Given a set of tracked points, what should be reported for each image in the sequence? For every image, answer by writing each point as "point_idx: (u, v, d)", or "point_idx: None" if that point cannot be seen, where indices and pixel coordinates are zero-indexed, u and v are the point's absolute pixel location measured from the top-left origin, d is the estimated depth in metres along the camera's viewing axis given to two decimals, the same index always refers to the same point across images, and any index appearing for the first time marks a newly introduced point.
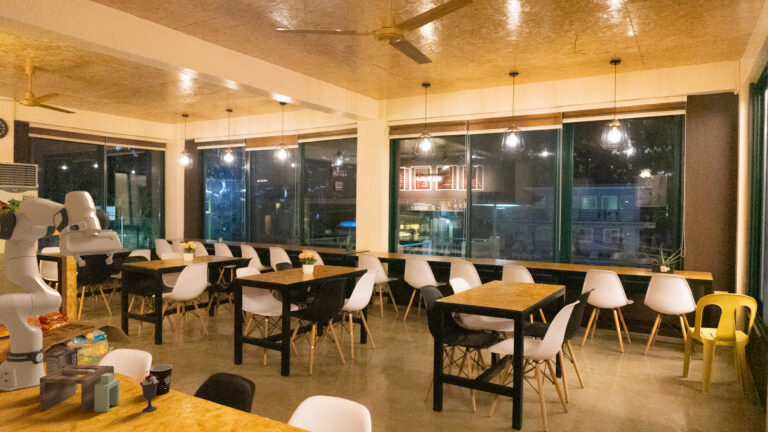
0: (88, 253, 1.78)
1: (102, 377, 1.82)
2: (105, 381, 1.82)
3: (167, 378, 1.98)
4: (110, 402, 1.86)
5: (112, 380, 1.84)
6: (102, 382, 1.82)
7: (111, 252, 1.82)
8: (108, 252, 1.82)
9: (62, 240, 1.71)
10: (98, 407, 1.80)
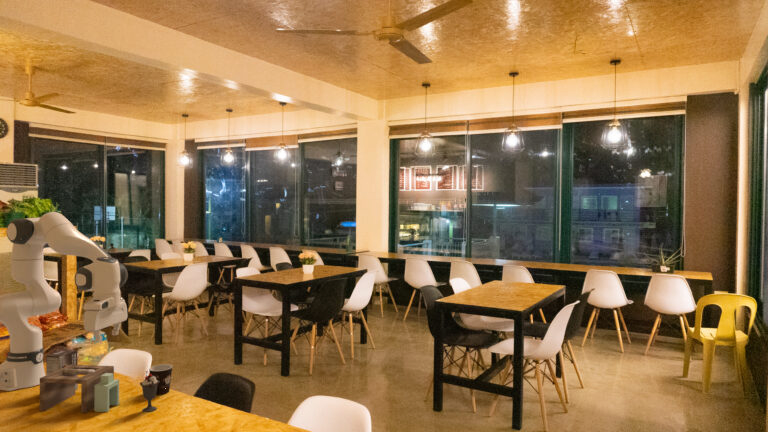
0: None
1: (102, 377, 1.82)
2: (105, 381, 1.82)
3: (167, 378, 1.98)
4: (110, 402, 1.86)
5: (112, 380, 1.84)
6: (102, 382, 1.82)
7: (119, 324, 1.88)
8: (116, 323, 1.88)
9: (92, 317, 1.73)
10: (98, 407, 1.80)
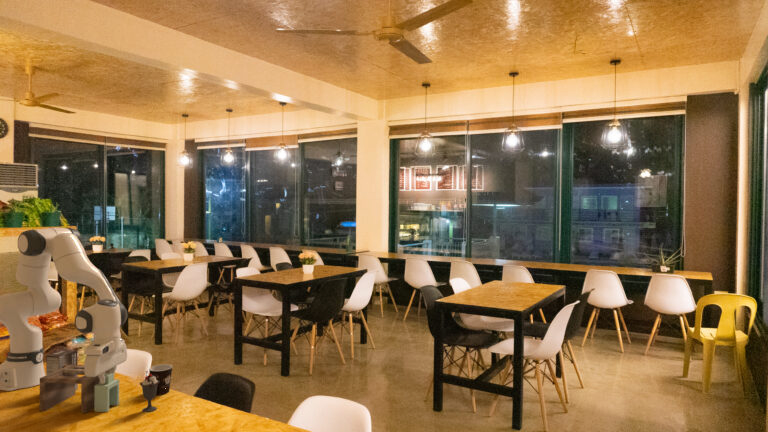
0: None
1: None
2: None
3: (167, 378, 1.98)
4: (110, 402, 1.86)
5: (112, 380, 1.84)
6: None
7: (115, 367, 1.86)
8: None
9: (92, 363, 1.73)
10: (98, 407, 1.80)
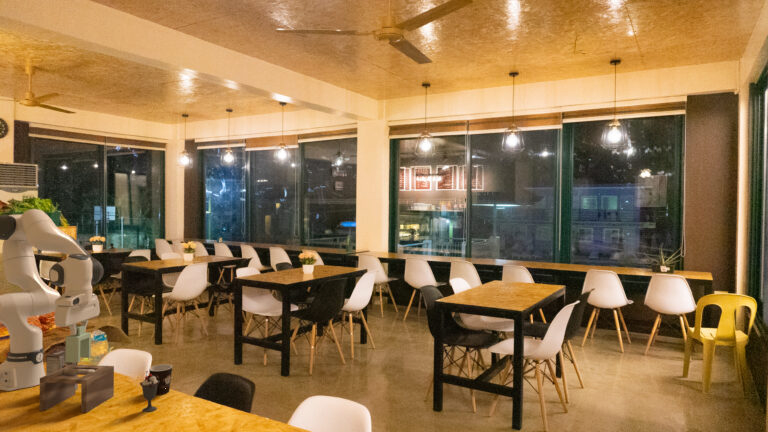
0: None
1: None
2: None
3: (167, 378, 1.98)
4: (82, 354, 1.90)
5: (83, 332, 1.88)
6: None
7: (87, 321, 1.90)
8: (84, 320, 1.89)
9: (62, 313, 1.77)
10: (69, 358, 1.84)
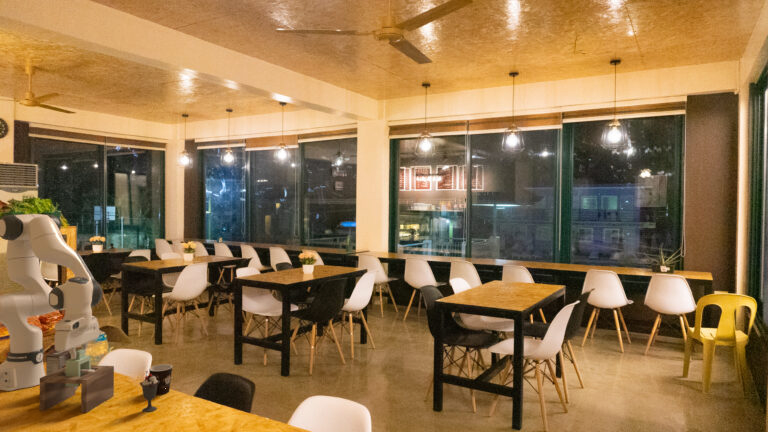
0: None
1: None
2: None
3: (167, 378, 1.98)
4: None
5: (83, 356, 1.88)
6: None
7: (86, 344, 1.90)
8: (84, 343, 1.90)
9: (62, 338, 1.77)
10: None
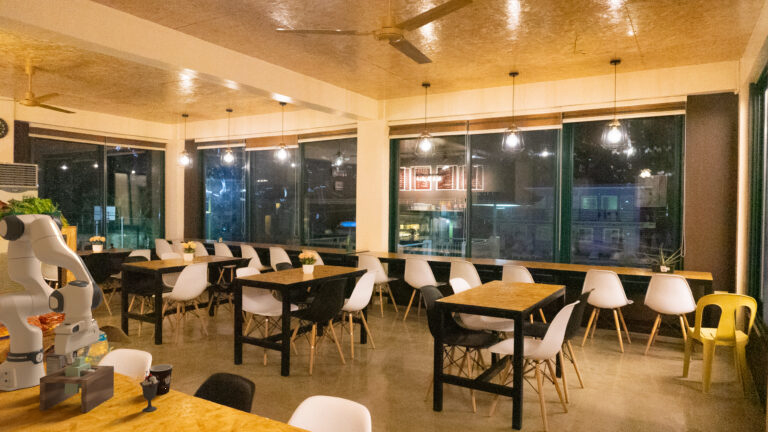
0: None
1: None
2: (76, 364, 1.86)
3: (167, 378, 1.98)
4: None
5: (83, 363, 1.88)
6: (73, 364, 1.86)
7: (89, 346, 1.92)
8: (86, 345, 1.91)
9: (62, 341, 1.77)
10: (68, 389, 1.83)
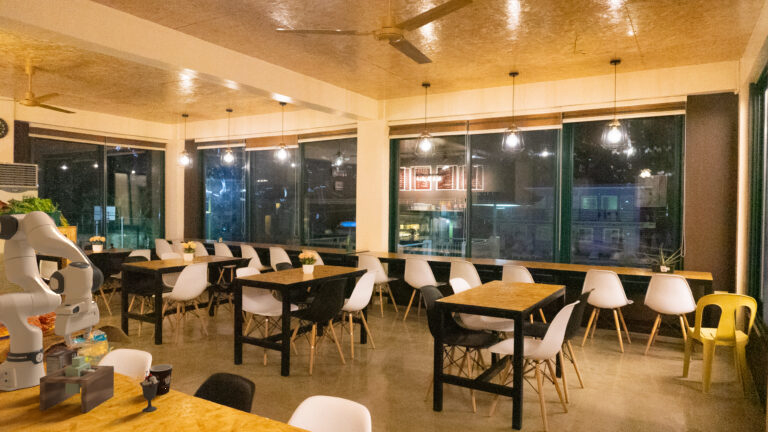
0: None
1: (73, 360, 1.86)
2: (76, 364, 1.86)
3: (167, 378, 1.98)
4: None
5: (83, 363, 1.88)
6: (73, 365, 1.86)
7: (91, 327, 1.93)
8: (88, 326, 1.92)
9: (62, 322, 1.77)
10: (69, 389, 1.84)
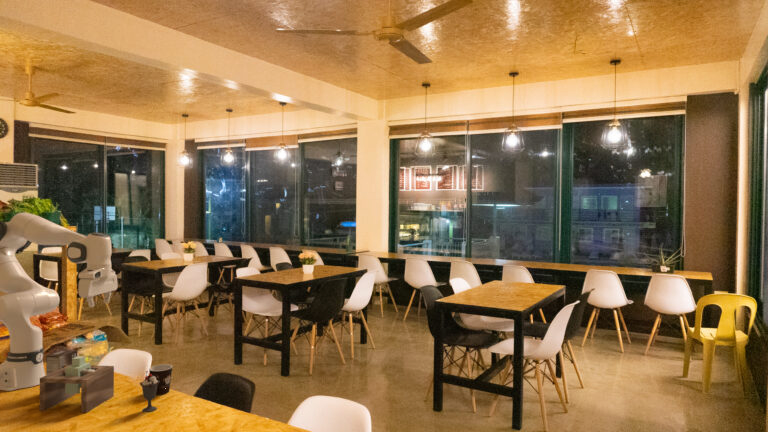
0: None
1: (73, 360, 1.86)
2: (76, 364, 1.86)
3: (167, 378, 1.98)
4: None
5: (83, 363, 1.88)
6: (73, 365, 1.86)
7: (110, 293, 2.11)
8: (107, 292, 2.10)
9: (86, 285, 1.95)
10: (69, 389, 1.84)
